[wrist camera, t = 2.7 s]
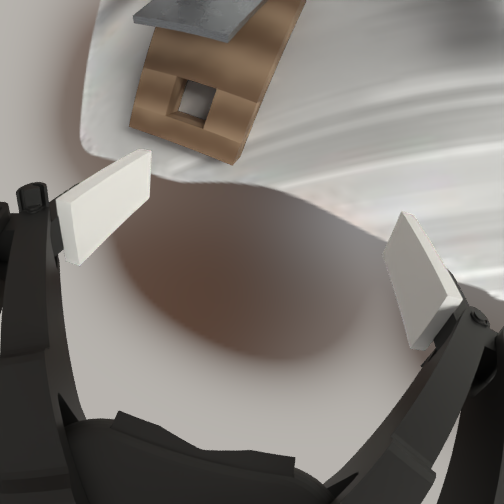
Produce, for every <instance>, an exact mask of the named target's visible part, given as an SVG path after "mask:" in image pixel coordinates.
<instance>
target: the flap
mask: <svg viewBox="0 0 504 504" xmlns="http://www.w3.org/2000/svg"><path fill="white" fill-rule="evenodd" d="M267 1H268V0H152V1H151V2H150V3H148V4H147V5H146V6H144V7H143V8H142V9H141V10H139V11H138V12H137V13H136V14H135V15H133V19H134V23H136V24H143V25H149V26H155V27H161V28H166V29H171V30H176V31H181V32H186V33H190V34H194V35H198V36H202V37H206V38H210V39H214V40H218V41H221V42H225V43H228V42H229V41H230V40H231V39H232V38H233V37H234V36H235V35H236V33H237V32H238V31H239V30H240V29H241V28H242V27H243V26H244V25H245V24H246V23H247V22H248V20H249V19H250V18H251V17H252V16H253V15H254V14H255V13H256V12H257V11H258V10H259V9H260V8H261V7H262V6H263V5H264V4H265V3H266V2H267Z"/></svg>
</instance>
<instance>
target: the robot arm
mask: <svg viewBox="0 0 504 504" xmlns="http://www.w3.org/2000/svg"><path fill="white" fill-rule="evenodd" d="M151 156H152V150H145V149H138V150H136V151H134V152H132V153H130V154H128V155H127V156H125V157H123V158H121V159H119V160H118V161H116V162H114V163H112V164H111V165H109V166H108V167H106V168H104V169H102V170H100V171H99V172H97V173H95V174H94V175H92V176H91V177H89V178H87V179H86V180H84V181H83V182H81V183H78V184H76V185H74V186H73V187H71V188H70V189H69V190H67V191H65V192H64V193H63V194H61V195H59V196H58V197H56V198H55V199H53V200H52V201H51V202H49V201H48V193H47V186H46V184H45V183H41V182H35V183H30V184H27V185H24V186H22V187H21V188H19V189H18V190H17V191H16V195H17V202H18V207H19V213H10V211H9V206H8V203H6V202H0V313H1V310H2V322H1V348H0V351H1V352H0V504H421V502H422V501H423V499H424V498H425V496H426V495H427V493H428V491H429V490H430V488H431V486H432V485H433V483H434V481H435V478H436V473H435V472H434V471H433V470H431V468H432V466H433V464H434V462H435V460H436V459H437V457H438V455H439V453H440V451H441V450H442V448H443V446H444V444H445V442H446V440H447V438H448V436H449V434H450V432H451V430H452V428H453V426H454V424H455V422H456V419H457V418H458V415H459V413H460V411H461V413H460V419H459V424H458V430H457V434H456V439H455V443H454V448H453V452H452V456H451V460H450V463H449V467H448V471H447V474H446V477H445V481H444V484H443V487H442V490H441V493H440V496H439V499H438V502H437V504H504V327H503V328H502V329H501V330H500V332H499V333H497V332H495V331H493V330H491V329H490V324H489V321H488V319H487V318H486V316H485V315H484V314H483V313H482V312H481V311H480V310H478V309H477V308H475V307H471V306H469V304H468V302H467V300H466V298H465V297H464V295H463V293H462V291H461V290H460V287H459V285H458V284H457V281H456V279H455V278H454V276H453V274H452V273H451V272H450V271H449V270H448V269H447V268H446V267H445V265H444V263H443V261H442V260H441V258H440V256H439V254H438V253H437V251H436V249H435V248H434V246H433V244H432V243H431V241H430V239H429V238H428V236H427V235H426V233H425V231H424V230H423V228H422V227H421V225H420V224H419V222H418V221H417V219H416V218H415V216H414V215H412V214H409V213H406V212H403V211H401V214H400V216H399V218H398V221H397V223H396V225H395V228H394V230H393V232H392V234H391V237H390V239H389V241H388V243H387V246H386V248H385V250H384V252H383V254H382V255H383V258H384V261H385V264H386V267H387V270H388V273H389V276H390V279H391V283H392V286H393V289H394V292H395V295H396V299H397V302H398V306H399V309H400V312H401V316H402V320H403V323H404V327H405V331H406V335H407V338H408V342H409V347H410V349H416V350H423V351H425V350H426V349H427V348H428V347H429V345H430V344H431V343H432V342H433V340H434V343H435V346H436V348H435V349H434V351H433V352H432V353H431V354H430V356H429V357H428V358H427V359H426V361H424V363H423V364H422V365H421V367H422V369H421V371H420V372H419V373H418V375H417V376H416V378H415V379H414V381H413V382H412V384H411V385H410V387H409V388H408V389H407V391H406V392H405V394H404V395H403V396H402V398H401V399H400V400H399V402H398V403H397V404H396V406H395V407H394V408H393V410H392V411H391V412H390V414H389V415H388V416H387V417H386V419H385V420H384V421H383V422H382V424H381V425H380V426H379V428H378V429H377V430H376V431H375V432H374V433H373V435H372V436H371V437H370V438H369V439H368V440H367V442H366V443H365V444H364V445H363V446H362V447H361V448H360V449H359V451H358V452H357V453H356V454H355V455H354V456H353V457H352V458H351V459H350V460H349V461H348V462H347V463H346V464H345V466H344V467H343V468H342V469H341V470H339V472H337V473H336V474H335V475H334V476H332V477H331V478H330V479H329V480H327V481H326V482H325V483H324V484H322V483H320V482H319V481H318V480H317V479H315V478H314V477H312V476H311V475H309V474H308V473H305V472H304V471H302V470H300V469H297V468H295V467H294V465H295V457H290V456H282V455H276V454H270V453H264V452H258V451H252V450H242V451H214V450H211V451H210V450H202V449H199V448H196V447H195V446H193V445H191V444H190V443H188V442H186V441H184V440H182V439H181V438H179V437H177V436H176V435H174V434H172V433H170V432H169V431H167V430H165V429H164V428H162V427H161V426H159V425H156V424H153V423H150V422H147V421H145V420H142V419H139V418H136V417H134V416H131V415H129V414H126V413H124V412H121V411H118V413H117V415H116V417H115V419H101V418H100V419H88V420H86V417H85V415H84V413H83V410H82V408H81V405H80V402H79V398H78V394H77V390H76V386H75V381H74V377H73V372H72V367H71V361H70V357H69V350H68V344H67V338H66V331H65V324H64V315H63V307H62V296H61V283H60V265H59V258H58V253H60V252H61V251H62V250H64V254H65V259H66V261H67V262H69V263H72V264H75V265H78V266H81V265H82V263H83V262H84V261H85V260H86V259H87V258H88V257H89V256H90V255H91V254H92V253H93V252H94V251H95V250H96V249H97V248H98V247H99V246H100V245H101V244H102V243H103V242H104V241H105V239H107V238H108V237H109V236H110V235H111V234H112V233H113V232H114V231H115V230H116V229H117V228H118V227H119V226H120V225H121V224H122V223H123V222H124V221H125V220H126V219H127V218H128V217H129V216H131V215H132V214H133V213H134V212H135V211H136V210H137V209H138V208H139V207H140V206H141V205H142V204H143V203H144V202H146V201H147V200H148V199H149V197H150V174H151ZM2 307H3V309H2Z"/></svg>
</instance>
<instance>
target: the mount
mask: <svg viewBox="0 0 504 504" xmlns="http://www.w3.org/2000/svg"><path fill="white" fill-rule="evenodd" d="M305 3H306V0H268V1H267V2H266V3H265V4H264V5H263V6H262V7H261V8H260V9H259V10H258V11H257V12H256V13H255V14H254V15H253V16H252V17H251V18H250V19H249V20H248V22H247V23H246V24H245V25H244V26H243V27H242V28H241V29H240V30H239V31H238V32H237V33H236V35H235V36H234V37H233V38H232V39H231V40H230V41H229V42H228V43H225V42H221V41H218V40H214V39H210V38H206V37H202V36H198V35H194V34H190V33H186V32H181V31H176V30H171V29H166V28H161V27H156V28H155V31H154V34H153V37H152V40H151V43H150V46H149V49H148V53H147V56H146V59H145V63H144V66H143V70H142V73H141V77H140V81H139V85H138V89H137V93H136V97H135V101H134V105H133V110H132V114H131V119H130V124H129V127H131V128H134V129H137V130H140V131H143V132H146V133H149V134H152V135H154V136H157V137H160V138H163V139H166V140H168V141H171V142H174V143H176V144H179V145H182V146H184V147H187V148H190V149H192V150H195V151H197V152H200V153H203V154H205V155H208V156H210V157H213V158H215V159H218V160H220V161H223V162H225V163H227V164H230V165H232V166H233V164H234V163H235V162H236V161H237V160H238V159H239V158H240V156H241V153H242V151H243V148H244V145H245V143H246V140H247V138H248V135H249V133H250V130H251V128H252V125H253V123H254V120H255V118H256V115H257V113H258V110H259V108H260V105H261V103H262V101H263V98H264V96H265V93H266V91H267V88H268V86H269V84H270V81H271V79H272V77H273V74H274V72H275V70H276V67H277V65H278V63H279V60H280V58H281V56H282V53H283V51H284V49H285V47H286V44H287V42H288V40H289V38H290V35H291V33H292V31H293V29H294V26H295V24H296V22H297V20H298V18H299V15H300V13H301V11H302V9H303V7H304V5H305ZM187 80H191V81H194V82H197V83H201V84H204V85H207V86H210V87H213V88H216V89H217V90H216V93H215V95H214V98H213V101H212V104H211V107H210V110H209V113H208V116H207V119H206V120H203V119H200V118H197V117H194V116H192V115H189V114H186V113H183V112H180V111H178V109H179V106H180V103H181V99H182V96H183V93H184V90H185V86H186V83H187Z"/></svg>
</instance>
